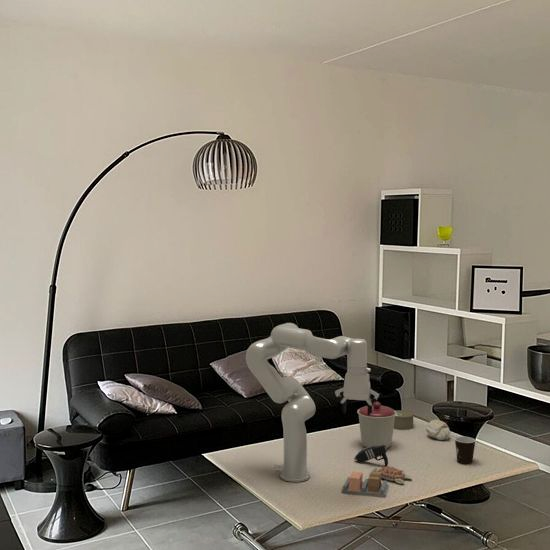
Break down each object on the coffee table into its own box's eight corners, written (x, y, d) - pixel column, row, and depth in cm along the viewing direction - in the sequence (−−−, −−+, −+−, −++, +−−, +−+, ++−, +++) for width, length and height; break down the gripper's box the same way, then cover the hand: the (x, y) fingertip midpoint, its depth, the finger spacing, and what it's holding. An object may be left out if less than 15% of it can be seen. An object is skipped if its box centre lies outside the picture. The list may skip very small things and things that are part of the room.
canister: (377, 455, 319) (378, 409, 317) (348, 445, 333) (349, 401, 331) (404, 447, 330) (404, 402, 328) (375, 437, 344) (375, 395, 342)
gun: (362, 473, 312) (353, 452, 314) (394, 463, 305) (384, 441, 306) (360, 475, 310) (350, 454, 311) (391, 465, 302) (381, 442, 304)
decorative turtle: (384, 468, 304) (384, 457, 304) (419, 477, 294) (419, 465, 293) (361, 480, 291) (361, 468, 290) (396, 491, 280) (397, 478, 280)
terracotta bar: (352, 483, 284) (352, 471, 283) (362, 484, 283) (362, 472, 282) (348, 490, 276) (349, 477, 276) (359, 491, 275) (359, 478, 275)
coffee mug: (474, 466, 305) (474, 443, 304) (453, 464, 308) (454, 441, 307) (475, 457, 316) (476, 435, 315) (455, 455, 319) (456, 433, 318)
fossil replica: (446, 443, 336) (452, 439, 344) (448, 426, 335) (455, 422, 344) (421, 437, 342) (429, 433, 351) (424, 420, 342) (431, 417, 350)
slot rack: (341, 492, 277) (341, 486, 277) (346, 482, 288) (346, 476, 287) (385, 497, 272) (385, 490, 272) (388, 486, 283) (388, 480, 283)
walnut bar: (371, 483, 284) (371, 471, 283) (381, 484, 283) (381, 472, 282) (368, 490, 276) (368, 478, 276) (378, 492, 275) (378, 479, 275)
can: (418, 428, 360) (418, 414, 359) (400, 431, 354) (400, 418, 353) (402, 422, 370) (403, 409, 369) (384, 425, 364) (384, 412, 363)
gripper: (380, 369, 278) (380, 412, 279) (336, 367, 283) (336, 409, 284) (377, 374, 271) (377, 418, 272) (333, 371, 276) (333, 414, 277)
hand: (356, 413), depth 278 cm, fingers open, 9 cm apart
